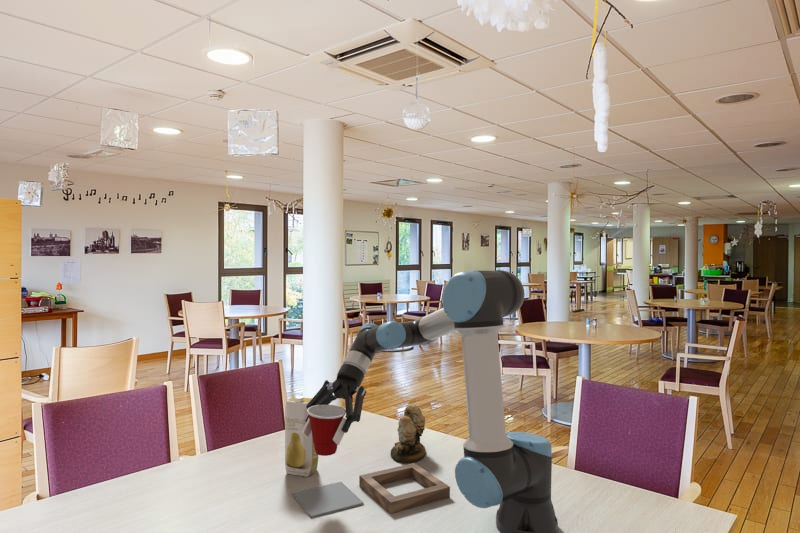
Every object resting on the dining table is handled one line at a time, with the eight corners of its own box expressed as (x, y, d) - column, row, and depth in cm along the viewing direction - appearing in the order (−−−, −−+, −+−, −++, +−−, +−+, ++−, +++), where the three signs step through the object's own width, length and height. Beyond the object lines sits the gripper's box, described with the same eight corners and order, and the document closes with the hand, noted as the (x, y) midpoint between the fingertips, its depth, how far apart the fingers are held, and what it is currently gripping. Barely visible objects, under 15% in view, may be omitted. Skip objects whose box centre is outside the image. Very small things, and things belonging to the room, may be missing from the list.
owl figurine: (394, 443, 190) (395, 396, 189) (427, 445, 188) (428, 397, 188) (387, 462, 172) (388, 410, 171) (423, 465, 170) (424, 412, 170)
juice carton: (281, 474, 162) (282, 397, 161) (295, 464, 169) (295, 390, 169) (308, 479, 159) (309, 400, 158) (321, 468, 166) (321, 393, 166)
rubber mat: (363, 504, 143) (363, 502, 143) (311, 517, 136) (311, 516, 136) (341, 483, 156) (341, 481, 156) (292, 494, 149) (292, 492, 149)
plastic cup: (339, 461, 140) (339, 416, 139) (300, 458, 142) (300, 414, 141) (351, 446, 150) (351, 404, 150) (315, 443, 153) (315, 402, 152)
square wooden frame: (449, 497, 148) (449, 486, 148) (390, 513, 138) (390, 502, 138) (414, 472, 164) (414, 462, 164) (359, 485, 155) (359, 475, 155)
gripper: (390, 382, 153) (359, 453, 140) (328, 372, 164) (294, 437, 151) (381, 367, 148) (348, 439, 135) (317, 358, 160) (281, 424, 147)
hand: (319, 438), depth 143 cm, fingers closed on plastic cup, 10 cm apart
